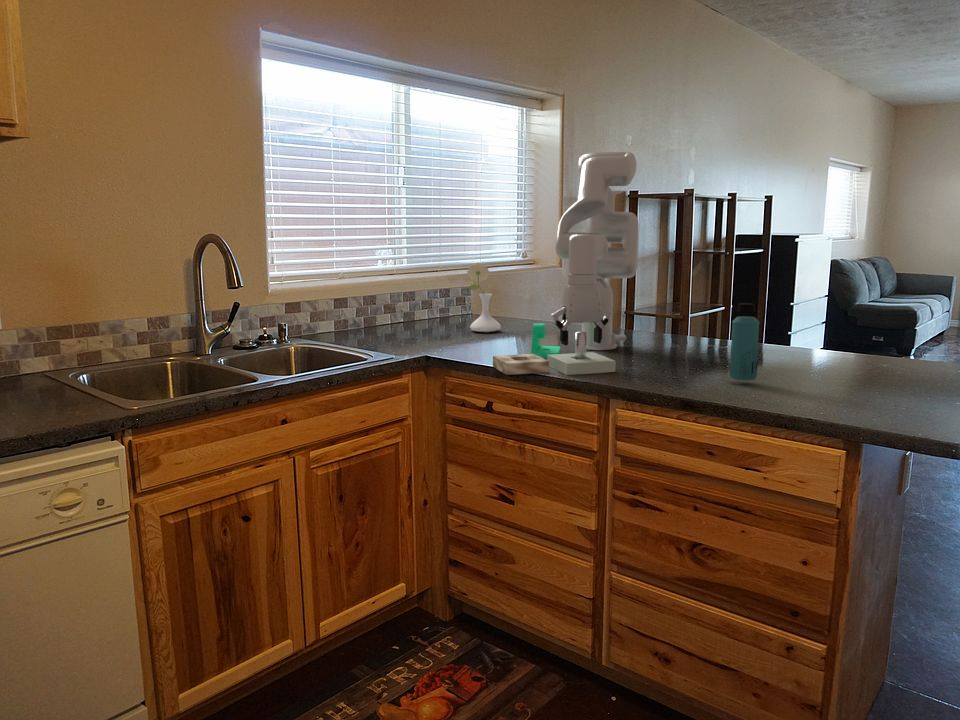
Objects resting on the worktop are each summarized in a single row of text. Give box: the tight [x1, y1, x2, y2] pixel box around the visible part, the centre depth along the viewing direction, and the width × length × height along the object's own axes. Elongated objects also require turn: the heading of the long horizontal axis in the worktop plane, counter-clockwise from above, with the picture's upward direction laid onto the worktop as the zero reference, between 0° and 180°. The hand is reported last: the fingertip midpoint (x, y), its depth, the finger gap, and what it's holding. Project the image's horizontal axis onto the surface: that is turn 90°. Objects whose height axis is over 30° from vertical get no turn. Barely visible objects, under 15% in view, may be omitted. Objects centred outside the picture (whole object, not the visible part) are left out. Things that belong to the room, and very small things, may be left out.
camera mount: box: [530, 322, 562, 360], centre depth 221 cm, size 12×8×10 cm, turn 169°
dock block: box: [546, 351, 617, 376], centre depth 204 cm, size 14×14×3 cm
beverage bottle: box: [728, 302, 760, 381], centre depth 183 cm, size 6×7×20 cm
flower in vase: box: [466, 262, 502, 333], centre depth 271 cm, size 13×11×25 cm
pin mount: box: [492, 353, 550, 376], centre depth 203 cm, size 12×12×3 cm
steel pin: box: [574, 331, 587, 360], centre depth 204 cm, size 3×3×10 cm
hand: (581, 343), depth 203 cm, fingers open, 9 cm apart
